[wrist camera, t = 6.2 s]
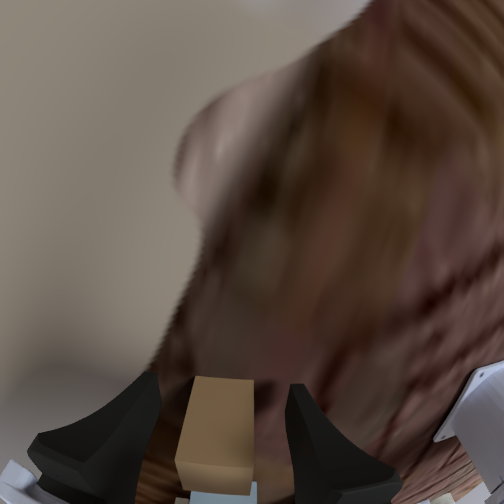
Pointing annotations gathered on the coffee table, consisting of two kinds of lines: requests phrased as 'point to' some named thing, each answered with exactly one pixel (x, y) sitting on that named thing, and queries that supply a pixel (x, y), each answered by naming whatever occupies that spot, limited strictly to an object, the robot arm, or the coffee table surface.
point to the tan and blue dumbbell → (218, 442)
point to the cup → (444, 499)
